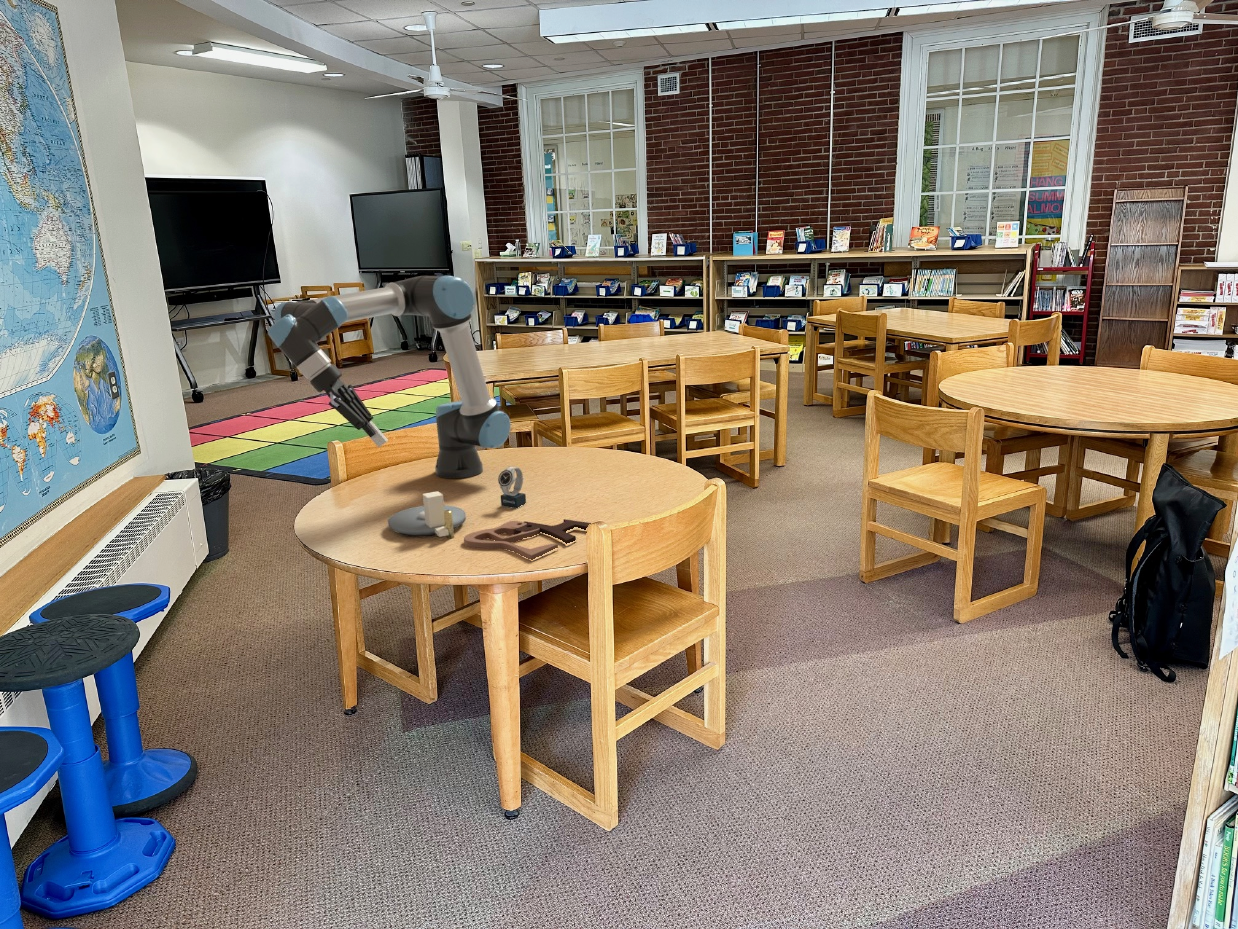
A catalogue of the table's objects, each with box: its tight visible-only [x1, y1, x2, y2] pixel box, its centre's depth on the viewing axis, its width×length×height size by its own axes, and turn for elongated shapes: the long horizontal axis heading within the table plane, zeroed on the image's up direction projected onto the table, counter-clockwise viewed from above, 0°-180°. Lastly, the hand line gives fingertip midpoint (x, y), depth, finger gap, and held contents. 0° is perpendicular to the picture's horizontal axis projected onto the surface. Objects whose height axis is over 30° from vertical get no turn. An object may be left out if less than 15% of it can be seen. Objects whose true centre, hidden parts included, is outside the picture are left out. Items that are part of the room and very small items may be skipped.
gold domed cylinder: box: [444, 510, 455, 540], centre depth 213 cm, size 2×2×7 cm
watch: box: [497, 466, 527, 509], centre depth 236 cm, size 6×8×11 cm
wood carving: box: [463, 519, 592, 560], centre depth 212 cm, size 28×2×24 cm
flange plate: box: [387, 490, 467, 538], centre depth 219 cm, size 24×20×9 cm
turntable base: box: [397, 526, 458, 538], centre depth 222 cm, size 16×16×1 cm
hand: (383, 443), depth 217 cm, fingers closed
